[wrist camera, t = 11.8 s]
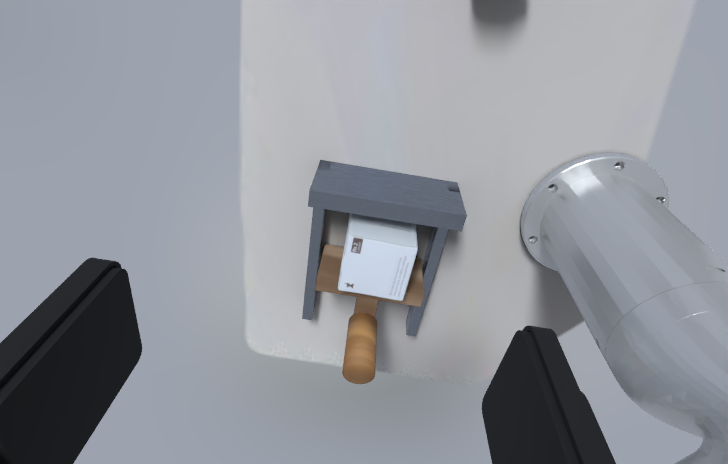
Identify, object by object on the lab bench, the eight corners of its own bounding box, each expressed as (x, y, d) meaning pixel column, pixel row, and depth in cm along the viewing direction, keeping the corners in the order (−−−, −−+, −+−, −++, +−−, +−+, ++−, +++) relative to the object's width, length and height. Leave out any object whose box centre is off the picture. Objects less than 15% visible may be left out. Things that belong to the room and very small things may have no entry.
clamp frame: (414, 323, 49) (416, 364, 44) (305, 306, 48) (295, 346, 43) (457, 182, 39) (466, 215, 34) (320, 160, 38) (309, 190, 33)
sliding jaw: (408, 303, 47) (412, 392, 37) (319, 289, 46) (299, 375, 37) (420, 259, 43) (428, 344, 34) (325, 244, 43) (305, 325, 33)
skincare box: (402, 254, 44) (403, 303, 37) (344, 245, 43) (336, 292, 37) (415, 204, 40) (419, 248, 34) (352, 193, 40) (345, 236, 34)
